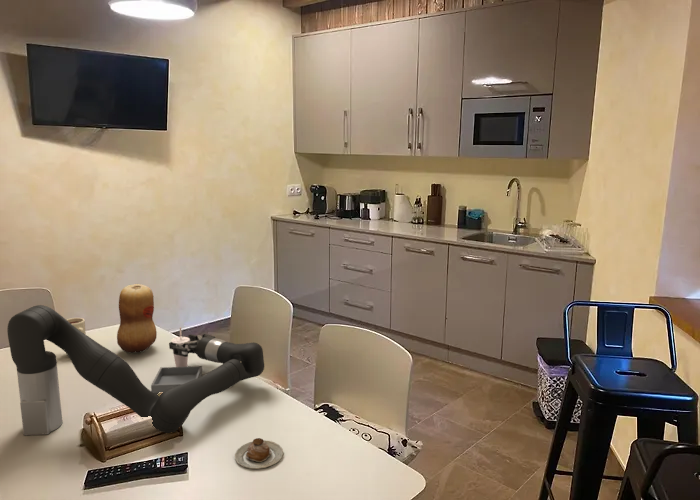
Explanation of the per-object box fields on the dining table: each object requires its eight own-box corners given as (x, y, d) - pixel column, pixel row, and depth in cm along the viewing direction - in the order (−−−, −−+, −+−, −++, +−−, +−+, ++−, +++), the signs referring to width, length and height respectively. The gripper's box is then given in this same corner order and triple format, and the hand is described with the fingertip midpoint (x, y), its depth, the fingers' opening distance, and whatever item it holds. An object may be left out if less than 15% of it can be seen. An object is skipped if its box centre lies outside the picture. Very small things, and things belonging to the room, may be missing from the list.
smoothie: (194, 363, 188) (192, 325, 186) (186, 370, 182) (185, 331, 179) (176, 362, 189) (174, 324, 186) (168, 369, 183) (166, 330, 180)
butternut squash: (140, 360, 189) (136, 292, 184) (110, 355, 193) (105, 288, 188) (165, 347, 202) (162, 283, 197) (136, 342, 206) (132, 279, 201)
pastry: (261, 439, 142) (260, 423, 142) (293, 456, 135) (293, 439, 134) (224, 459, 133) (224, 442, 132) (257, 478, 126) (256, 460, 125)
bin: (196, 394, 166) (195, 383, 165) (151, 396, 164) (151, 385, 163) (202, 375, 178) (201, 366, 178) (161, 377, 177) (160, 367, 176)
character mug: (58, 354, 193) (55, 320, 191) (77, 348, 199) (74, 315, 196) (75, 362, 187) (72, 326, 185) (94, 355, 193) (91, 321, 191)
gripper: (198, 368, 171) (164, 358, 179) (230, 353, 183) (196, 344, 191) (197, 346, 170) (162, 337, 178) (228, 332, 182) (194, 324, 190)
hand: (179, 341), depth 185 cm, fingers open, 8 cm apart
